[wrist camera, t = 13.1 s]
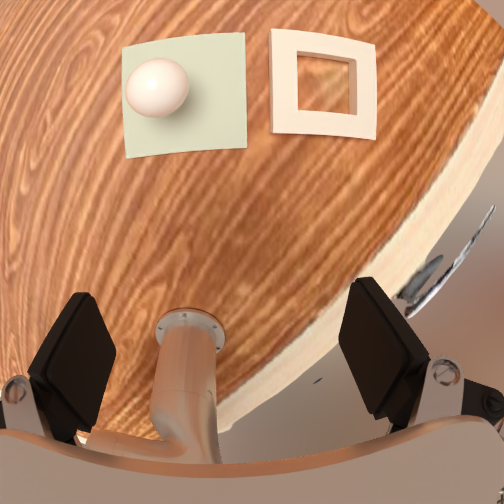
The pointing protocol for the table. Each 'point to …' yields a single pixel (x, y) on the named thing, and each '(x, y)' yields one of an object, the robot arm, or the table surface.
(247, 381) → the table surface
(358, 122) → the pocket holder
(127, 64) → the sage mat
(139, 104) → the lightbulb
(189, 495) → the robot arm
